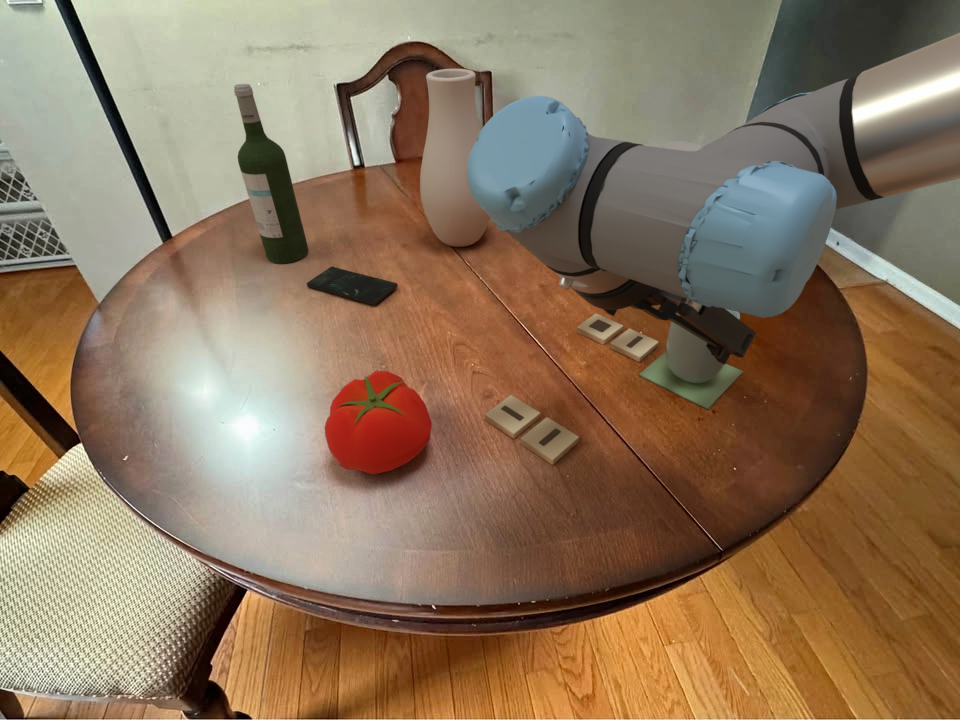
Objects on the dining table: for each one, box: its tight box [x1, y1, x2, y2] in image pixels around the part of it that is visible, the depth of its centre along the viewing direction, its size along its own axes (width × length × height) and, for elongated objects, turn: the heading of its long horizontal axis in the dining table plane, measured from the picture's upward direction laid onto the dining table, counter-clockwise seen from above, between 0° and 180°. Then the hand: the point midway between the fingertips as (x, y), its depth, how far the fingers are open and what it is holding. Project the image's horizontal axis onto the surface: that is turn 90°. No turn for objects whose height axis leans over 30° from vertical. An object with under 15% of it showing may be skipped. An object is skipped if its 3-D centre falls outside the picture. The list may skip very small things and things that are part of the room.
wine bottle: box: [233, 83, 309, 265], centre depth 98 cm, size 8×8×30 cm
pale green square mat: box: [575, 313, 744, 411], centre depth 79 cm, size 22×10×1 cm, turn 45°
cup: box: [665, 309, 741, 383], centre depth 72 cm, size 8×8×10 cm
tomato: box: [324, 370, 433, 475], centre depth 64 cm, size 13×12×8 cm
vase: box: [419, 68, 491, 248], centre depth 100 cm, size 14×14×30 cm
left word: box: [483, 394, 580, 466], centre depth 68 cm, size 11×5×1 cm, turn 45°
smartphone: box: [306, 266, 399, 306], centre depth 96 cm, size 7×1×15 cm
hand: (668, 326), depth 62 cm, fingers open, 13 cm apart
